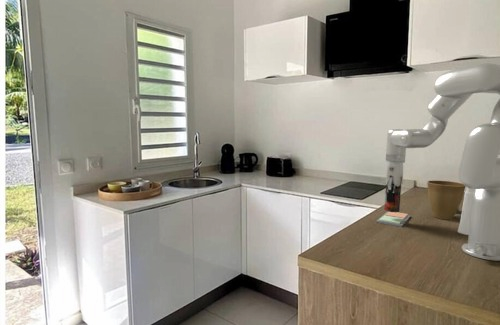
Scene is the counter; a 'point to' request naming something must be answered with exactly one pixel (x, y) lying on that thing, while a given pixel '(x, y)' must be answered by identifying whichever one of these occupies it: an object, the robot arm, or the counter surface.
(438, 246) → the counter surface
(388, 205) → the deodorant
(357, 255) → the counter surface
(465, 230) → the cosmetic bottle
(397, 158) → the robot arm
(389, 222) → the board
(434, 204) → the plant pot
